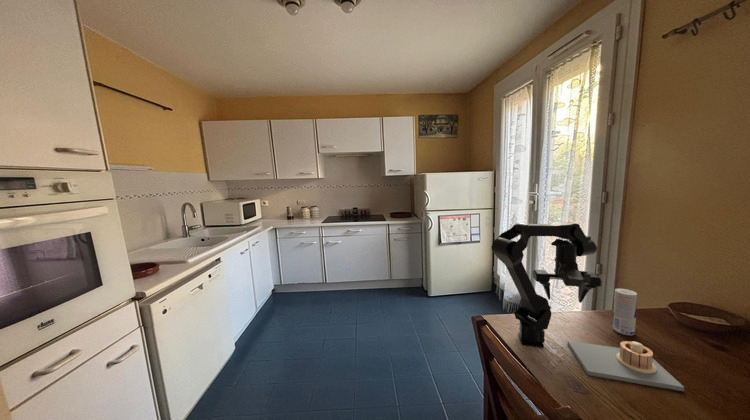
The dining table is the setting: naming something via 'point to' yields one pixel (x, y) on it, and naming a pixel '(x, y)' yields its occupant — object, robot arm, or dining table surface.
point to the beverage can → (624, 311)
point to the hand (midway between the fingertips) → (564, 300)
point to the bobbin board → (621, 366)
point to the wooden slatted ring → (636, 356)
